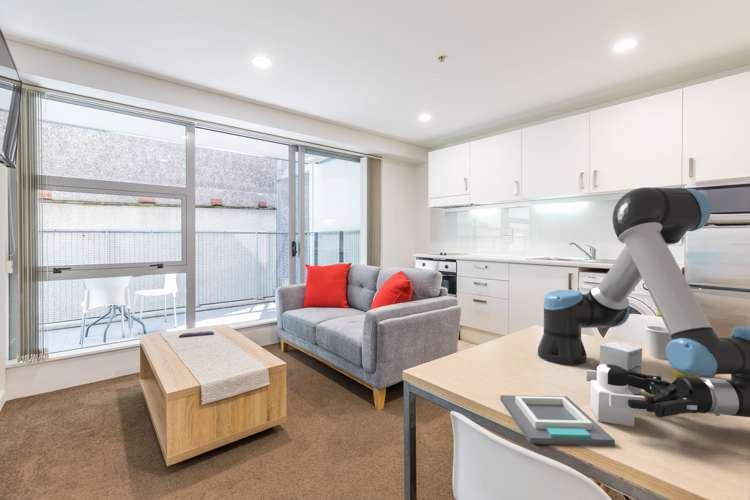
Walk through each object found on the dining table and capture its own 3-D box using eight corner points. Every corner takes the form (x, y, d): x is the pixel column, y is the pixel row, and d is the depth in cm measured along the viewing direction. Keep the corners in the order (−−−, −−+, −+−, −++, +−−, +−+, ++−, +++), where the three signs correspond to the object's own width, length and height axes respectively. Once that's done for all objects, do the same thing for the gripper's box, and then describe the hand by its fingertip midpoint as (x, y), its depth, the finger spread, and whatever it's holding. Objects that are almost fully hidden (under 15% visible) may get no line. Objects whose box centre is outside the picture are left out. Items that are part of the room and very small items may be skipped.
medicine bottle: (623, 412, 83) (624, 363, 83) (634, 427, 77) (636, 374, 76) (589, 407, 86) (590, 360, 85) (598, 421, 79) (599, 370, 79)
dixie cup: (672, 355, 123) (673, 327, 122) (677, 362, 116) (678, 333, 115) (643, 351, 127) (644, 324, 127) (646, 358, 120) (647, 329, 120)
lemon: (667, 382, 100) (668, 355, 100) (685, 381, 101) (686, 354, 100) (686, 390, 95) (687, 362, 94) (704, 389, 95) (706, 361, 95)
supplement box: (627, 399, 90) (628, 352, 89) (597, 388, 96) (598, 344, 96) (641, 393, 93) (643, 347, 93) (612, 383, 100) (613, 340, 99)
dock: (500, 399, 90) (500, 389, 90) (566, 401, 89) (567, 390, 89) (529, 443, 71) (530, 430, 71) (614, 445, 70) (614, 432, 70)
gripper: (748, 444, 65) (622, 431, 70) (667, 387, 89) (577, 380, 94) (750, 405, 65) (623, 394, 69) (668, 359, 89) (578, 353, 94)
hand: (596, 386), depth 82 cm, fingers open, 13 cm apart
